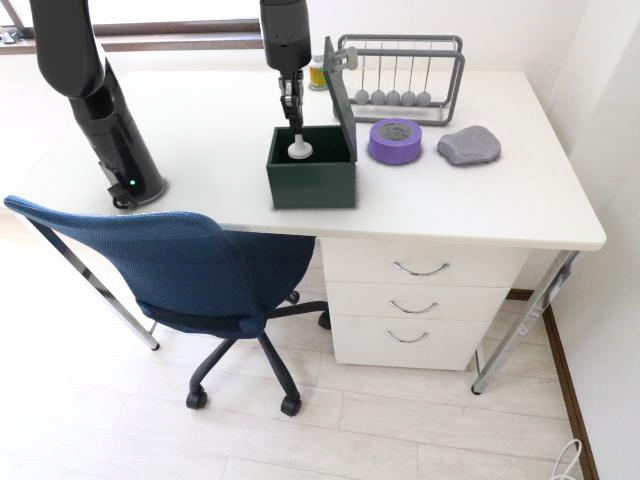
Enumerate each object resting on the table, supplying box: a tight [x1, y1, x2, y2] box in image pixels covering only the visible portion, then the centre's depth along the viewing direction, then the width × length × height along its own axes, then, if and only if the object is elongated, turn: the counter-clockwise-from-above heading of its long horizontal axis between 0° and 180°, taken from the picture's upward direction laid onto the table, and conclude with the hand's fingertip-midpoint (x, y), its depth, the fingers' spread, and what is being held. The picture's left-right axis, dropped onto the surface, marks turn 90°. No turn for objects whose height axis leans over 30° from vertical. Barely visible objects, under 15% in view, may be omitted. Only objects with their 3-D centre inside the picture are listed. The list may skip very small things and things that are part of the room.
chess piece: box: [288, 115, 313, 159], centre depth 71 cm, size 5×5×10 cm
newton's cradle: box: [332, 33, 466, 126], centre depth 92 cm, size 30×10×18 cm, turn 79°
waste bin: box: [265, 124, 356, 210], centre depth 77 cm, size 17×14×11 cm
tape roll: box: [368, 117, 423, 165], centre depth 86 cm, size 12×12×5 cm
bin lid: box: [323, 35, 359, 164], centre depth 65 cm, size 17×14×5 cm
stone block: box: [436, 124, 502, 166], centre depth 84 cm, size 12×5×10 cm
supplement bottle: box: [308, 49, 328, 91], centre depth 108 cm, size 5×5×10 cm
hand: (297, 129), depth 71 cm, fingers closed on chess piece
